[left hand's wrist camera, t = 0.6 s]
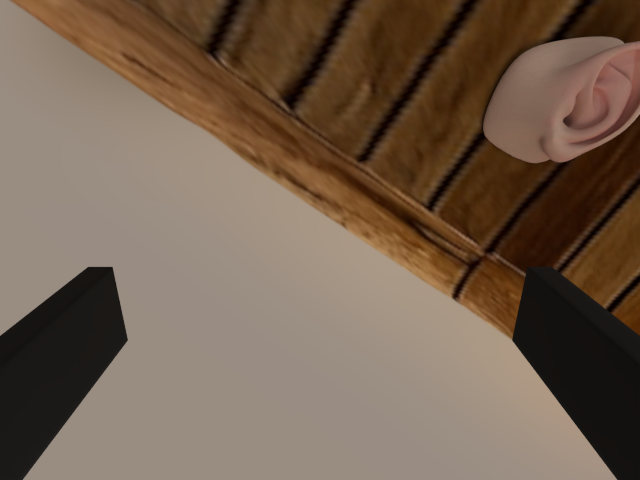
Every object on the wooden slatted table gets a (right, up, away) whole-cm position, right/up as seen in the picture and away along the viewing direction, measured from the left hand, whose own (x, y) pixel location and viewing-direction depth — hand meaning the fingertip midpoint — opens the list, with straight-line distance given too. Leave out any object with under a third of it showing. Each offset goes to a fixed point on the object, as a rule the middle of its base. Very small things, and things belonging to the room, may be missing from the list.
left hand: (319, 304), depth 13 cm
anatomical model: (+22, +15, +25) cm, 37 cm away
